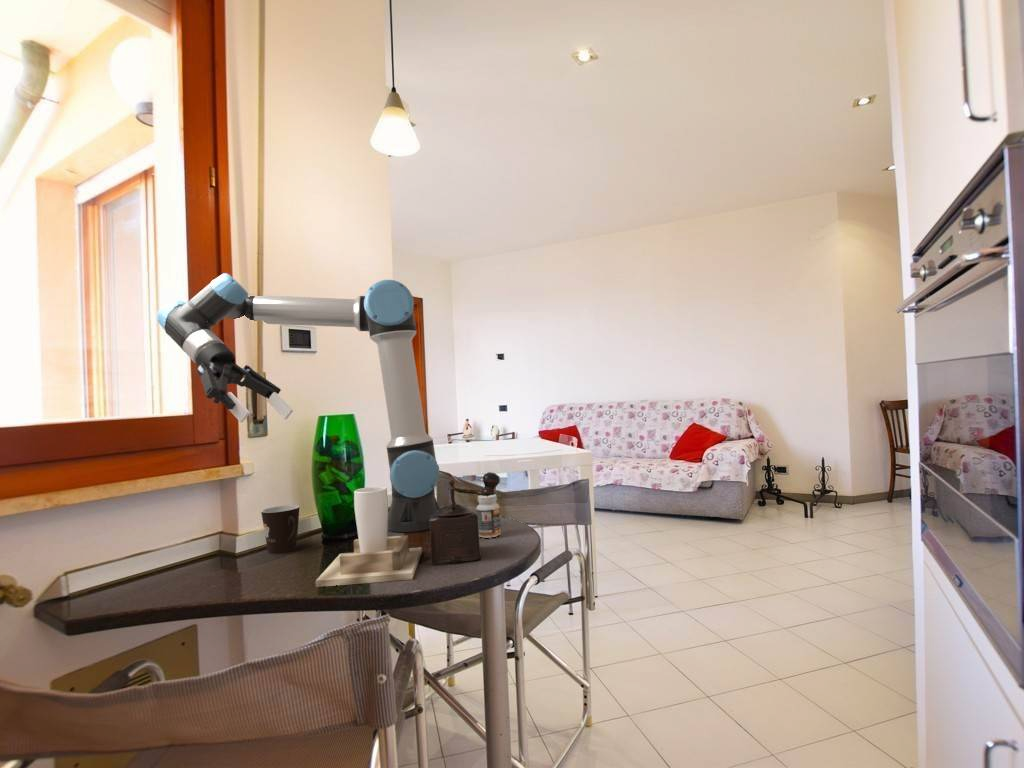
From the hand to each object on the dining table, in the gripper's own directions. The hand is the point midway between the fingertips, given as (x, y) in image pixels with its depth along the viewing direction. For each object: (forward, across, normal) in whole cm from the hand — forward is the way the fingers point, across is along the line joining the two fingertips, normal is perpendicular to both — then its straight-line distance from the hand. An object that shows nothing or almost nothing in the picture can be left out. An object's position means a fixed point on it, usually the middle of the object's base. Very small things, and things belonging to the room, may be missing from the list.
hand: (268, 416), depth 116 cm
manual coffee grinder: (+52, -10, +6) cm, 54 cm away
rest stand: (+40, 0, -6) cm, 41 cm away
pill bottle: (+52, -26, +6) cm, 59 cm away
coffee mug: (+19, -10, -28) cm, 35 cm away
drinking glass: (+40, 0, -5) cm, 40 cm away
